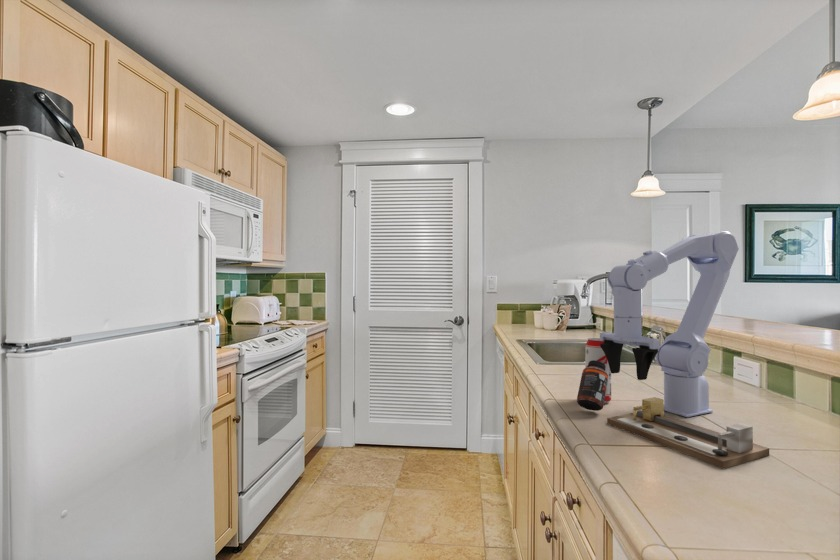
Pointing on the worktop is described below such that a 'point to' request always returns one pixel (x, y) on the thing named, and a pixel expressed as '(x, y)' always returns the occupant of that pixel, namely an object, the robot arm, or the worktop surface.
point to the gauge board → (695, 438)
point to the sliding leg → (650, 408)
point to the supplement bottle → (593, 386)
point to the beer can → (596, 353)
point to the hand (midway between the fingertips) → (628, 376)
